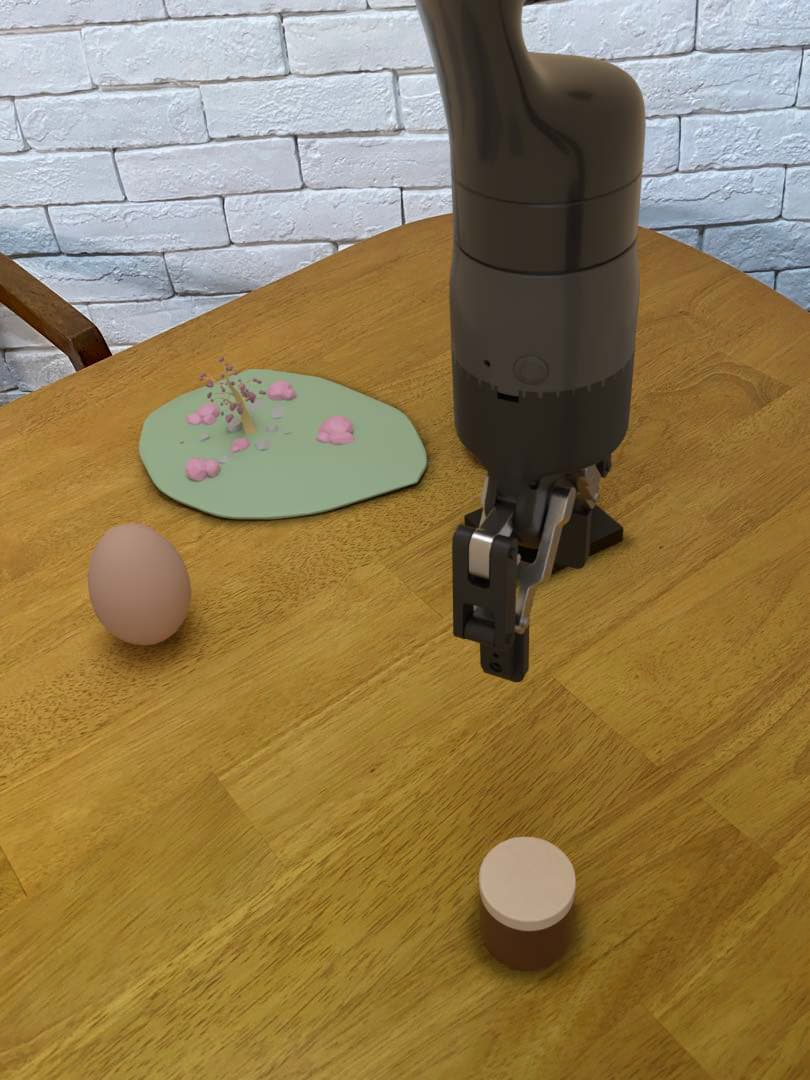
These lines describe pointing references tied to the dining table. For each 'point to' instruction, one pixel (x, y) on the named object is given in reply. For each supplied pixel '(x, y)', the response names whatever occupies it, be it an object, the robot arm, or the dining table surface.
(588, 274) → the robot arm
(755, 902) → the dining table surface
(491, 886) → the brown lidded jar
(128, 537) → the egg
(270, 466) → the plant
